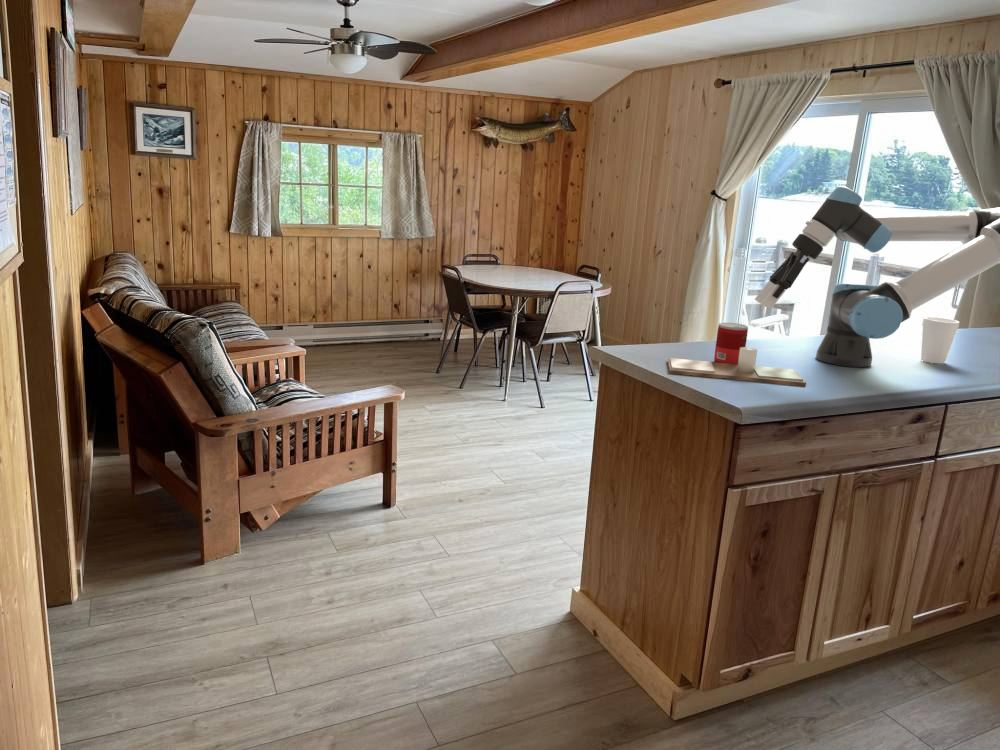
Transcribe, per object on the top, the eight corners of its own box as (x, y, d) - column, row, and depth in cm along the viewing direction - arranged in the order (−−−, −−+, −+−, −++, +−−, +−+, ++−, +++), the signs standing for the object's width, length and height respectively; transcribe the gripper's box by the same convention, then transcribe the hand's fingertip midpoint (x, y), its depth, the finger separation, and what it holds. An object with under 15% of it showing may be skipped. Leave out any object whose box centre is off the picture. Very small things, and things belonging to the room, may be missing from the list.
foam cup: (948, 360, 230) (957, 319, 227) (952, 366, 222) (961, 324, 219) (914, 356, 234) (922, 315, 231) (916, 362, 226) (924, 320, 222)
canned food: (744, 367, 206) (749, 328, 203) (714, 364, 207) (719, 326, 205) (741, 361, 213) (746, 324, 210) (712, 358, 215) (717, 321, 212)
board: (794, 373, 203) (795, 368, 203) (805, 386, 190) (806, 381, 189) (667, 361, 208) (668, 356, 208) (669, 373, 195) (670, 368, 195)
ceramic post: (752, 369, 200) (756, 347, 198) (755, 373, 196) (758, 351, 194) (735, 368, 201) (739, 346, 199) (738, 372, 196) (741, 349, 195)
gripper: (792, 232, 213) (745, 292, 219) (810, 232, 189) (757, 301, 195) (814, 247, 213) (766, 307, 218) (835, 249, 189) (781, 317, 194)
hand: (761, 304), depth 206 cm, fingers open, 13 cm apart
